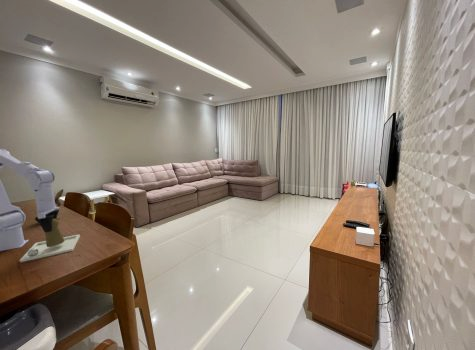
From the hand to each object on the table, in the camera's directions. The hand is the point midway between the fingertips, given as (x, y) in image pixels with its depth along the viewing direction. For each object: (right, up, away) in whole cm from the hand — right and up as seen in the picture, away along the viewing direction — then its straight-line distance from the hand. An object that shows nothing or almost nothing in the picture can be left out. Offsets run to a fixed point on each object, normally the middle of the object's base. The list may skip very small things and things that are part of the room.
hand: (50, 229), depth 86 cm
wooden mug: (-33, -4, +37) cm, 50 cm away
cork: (+1, -7, +2) cm, 7 cm away
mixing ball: (-2, -10, -5) cm, 11 cm away
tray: (0, -9, +1) cm, 9 cm away
